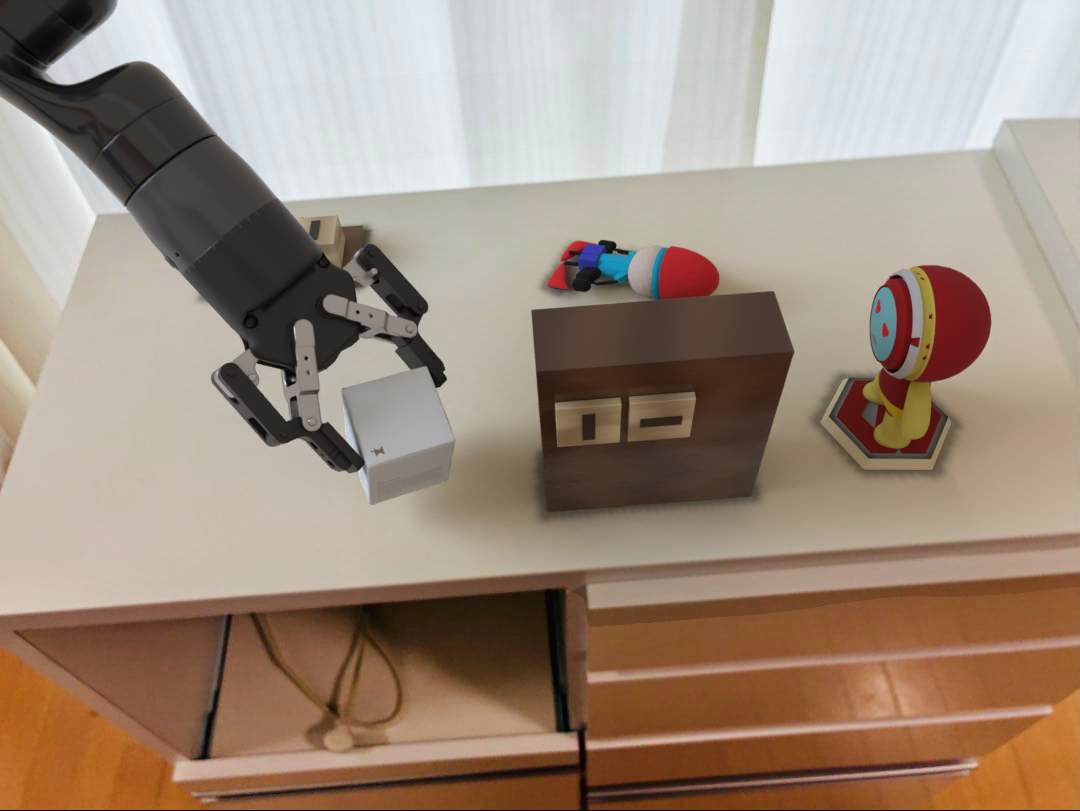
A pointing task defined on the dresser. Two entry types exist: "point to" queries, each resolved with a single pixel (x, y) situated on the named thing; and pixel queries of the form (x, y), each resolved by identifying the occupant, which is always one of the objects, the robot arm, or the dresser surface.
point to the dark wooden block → (657, 398)
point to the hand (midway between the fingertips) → (399, 425)
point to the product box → (398, 434)
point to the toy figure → (639, 270)
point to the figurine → (910, 368)
